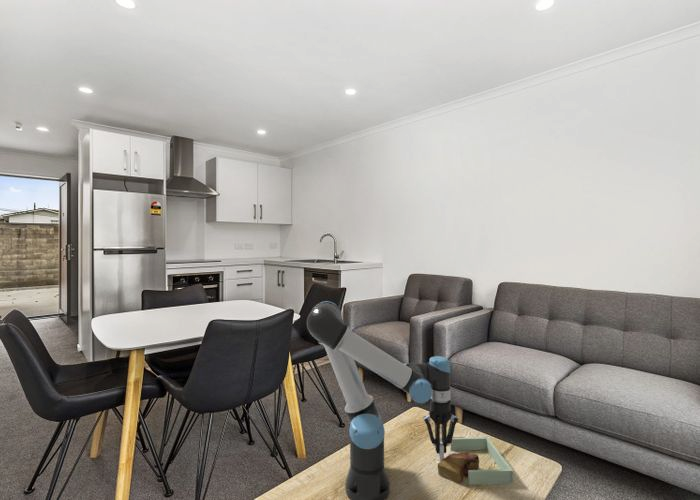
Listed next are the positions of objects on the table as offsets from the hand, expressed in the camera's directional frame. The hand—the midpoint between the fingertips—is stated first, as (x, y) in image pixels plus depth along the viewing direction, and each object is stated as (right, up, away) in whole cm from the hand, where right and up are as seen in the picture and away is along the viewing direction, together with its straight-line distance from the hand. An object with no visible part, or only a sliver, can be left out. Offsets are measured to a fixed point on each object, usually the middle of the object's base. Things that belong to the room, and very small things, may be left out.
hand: (441, 460), depth 136 cm
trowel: (+7, -2, +16) cm, 18 cm away
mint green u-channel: (+14, -2, 0) cm, 14 cm away
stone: (+5, -2, -4) cm, 7 cm away
